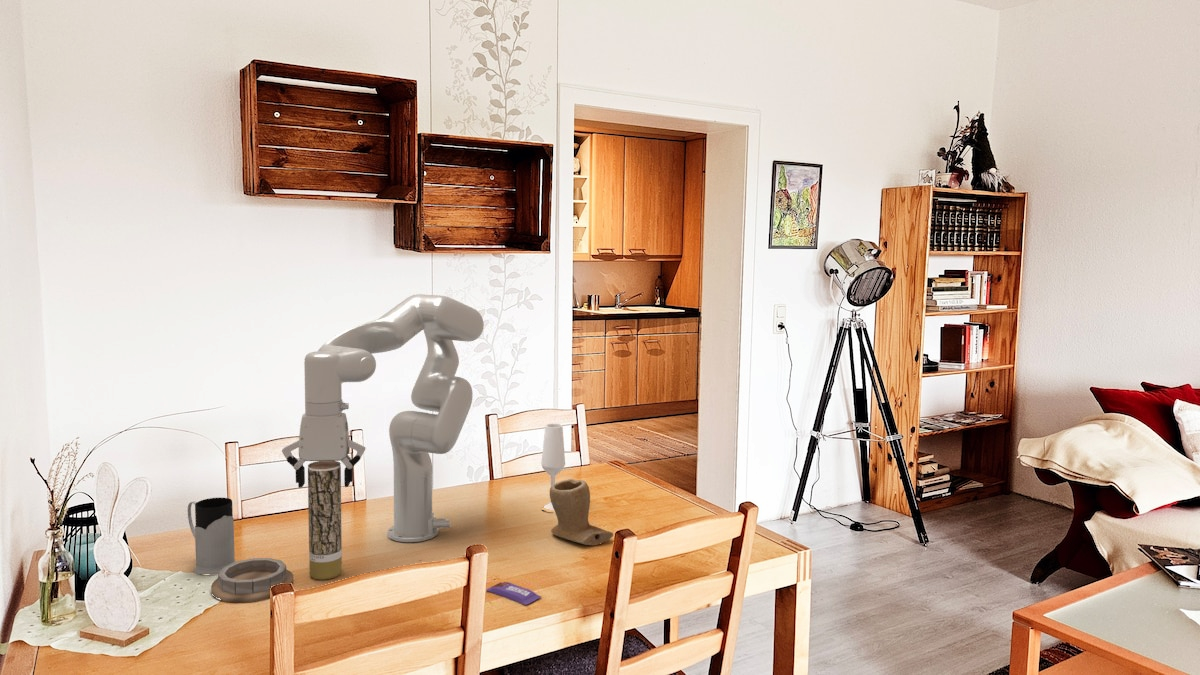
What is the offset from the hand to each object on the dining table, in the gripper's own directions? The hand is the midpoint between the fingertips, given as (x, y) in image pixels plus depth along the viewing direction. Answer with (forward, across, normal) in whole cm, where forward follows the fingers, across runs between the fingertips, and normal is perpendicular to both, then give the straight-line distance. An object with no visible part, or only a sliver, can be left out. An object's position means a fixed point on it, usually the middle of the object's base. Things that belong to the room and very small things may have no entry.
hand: (324, 485), depth 176 cm
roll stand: (+20, +14, +5) cm, 25 cm away
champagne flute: (+20, -54, -41) cm, 71 cm away
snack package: (+21, -41, +14) cm, 48 cm away
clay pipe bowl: (+21, -58, -17) cm, 64 cm away
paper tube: (+20, 0, 0) cm, 20 cm away
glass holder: (+21, +27, -8) cm, 35 cm away
